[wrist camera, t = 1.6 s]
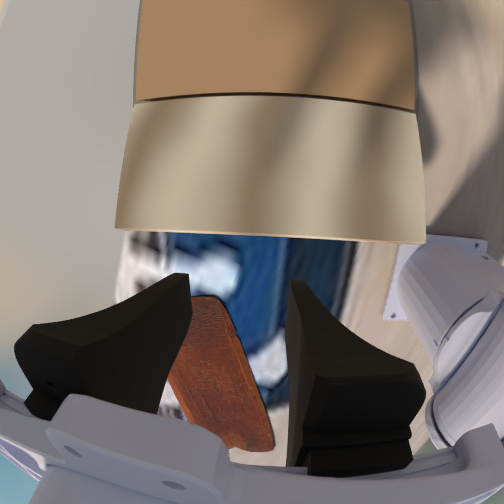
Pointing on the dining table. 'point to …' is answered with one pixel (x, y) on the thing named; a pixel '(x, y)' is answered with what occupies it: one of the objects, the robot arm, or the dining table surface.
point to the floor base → (278, 50)
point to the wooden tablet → (219, 381)
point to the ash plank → (273, 169)
